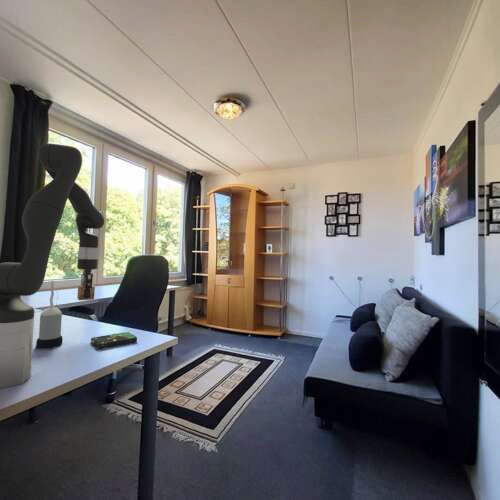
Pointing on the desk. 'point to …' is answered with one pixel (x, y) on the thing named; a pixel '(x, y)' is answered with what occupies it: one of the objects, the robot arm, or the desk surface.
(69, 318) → the desk surface
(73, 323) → the desk surface
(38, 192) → the robot arm
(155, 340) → the desk surface
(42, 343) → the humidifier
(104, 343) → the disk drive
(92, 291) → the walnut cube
